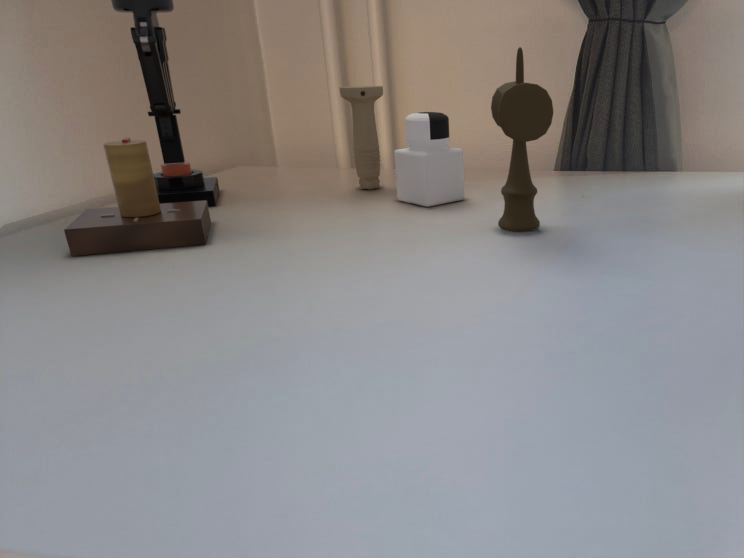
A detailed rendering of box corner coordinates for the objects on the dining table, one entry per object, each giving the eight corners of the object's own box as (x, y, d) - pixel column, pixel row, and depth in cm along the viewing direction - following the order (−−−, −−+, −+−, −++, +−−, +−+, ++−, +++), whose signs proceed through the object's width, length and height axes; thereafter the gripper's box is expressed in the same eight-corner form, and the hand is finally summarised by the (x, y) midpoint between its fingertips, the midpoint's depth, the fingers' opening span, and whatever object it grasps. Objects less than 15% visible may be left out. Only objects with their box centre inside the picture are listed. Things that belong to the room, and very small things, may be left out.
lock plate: (71, 256, 74) (63, 228, 73) (92, 233, 84) (85, 207, 83) (205, 244, 78) (200, 217, 77) (211, 223, 88) (206, 198, 86)
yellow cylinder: (158, 215, 78) (142, 140, 75) (117, 218, 77) (98, 143, 74) (163, 207, 82) (148, 136, 79) (123, 210, 81) (106, 138, 78)
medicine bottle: (434, 193, 103) (430, 109, 98) (465, 199, 98) (463, 112, 93) (396, 200, 99) (390, 113, 94) (427, 207, 94) (422, 116, 89)
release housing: (140, 211, 95) (134, 182, 93) (152, 195, 106) (146, 169, 104) (215, 205, 98) (210, 177, 96) (219, 190, 108) (215, 165, 106)
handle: (348, 186, 109) (338, 86, 103) (388, 184, 111) (380, 85, 104) (350, 192, 105) (340, 88, 99) (391, 189, 106) (384, 86, 100)
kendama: (499, 241, 77) (498, 47, 69) (489, 221, 86) (487, 47, 77) (551, 238, 77) (556, 46, 69) (536, 219, 86) (539, 46, 78)
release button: (162, 181, 98) (158, 166, 97) (165, 177, 101) (162, 162, 101) (191, 179, 99) (188, 165, 98) (193, 175, 102) (190, 161, 102)
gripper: (162, -27, 85) (198, 167, 95) (173, -17, 96) (204, 155, 106) (96, -27, 83) (140, 170, 93) (115, -18, 94) (152, 157, 104)
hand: (174, 162), depth 99 cm, fingers closed
